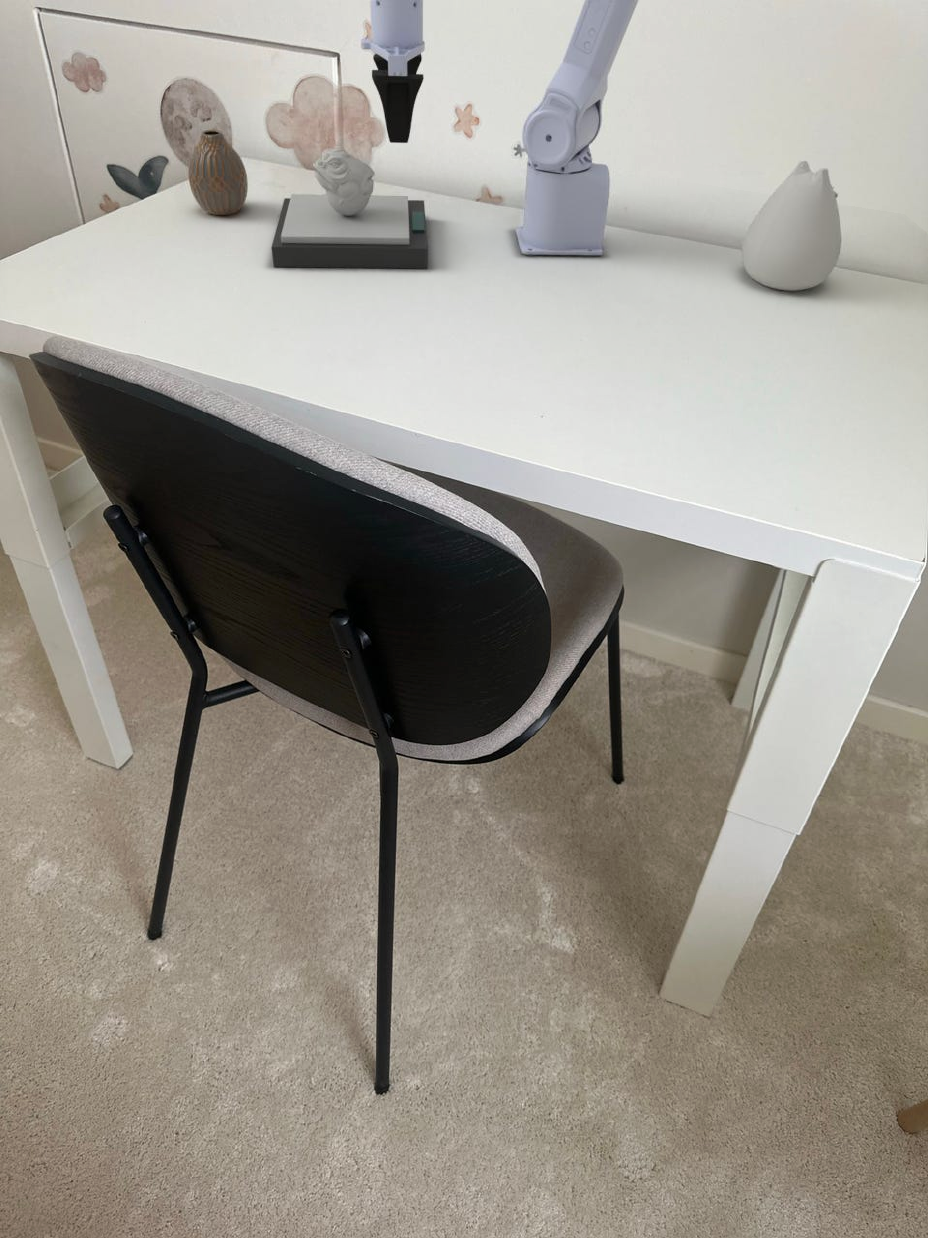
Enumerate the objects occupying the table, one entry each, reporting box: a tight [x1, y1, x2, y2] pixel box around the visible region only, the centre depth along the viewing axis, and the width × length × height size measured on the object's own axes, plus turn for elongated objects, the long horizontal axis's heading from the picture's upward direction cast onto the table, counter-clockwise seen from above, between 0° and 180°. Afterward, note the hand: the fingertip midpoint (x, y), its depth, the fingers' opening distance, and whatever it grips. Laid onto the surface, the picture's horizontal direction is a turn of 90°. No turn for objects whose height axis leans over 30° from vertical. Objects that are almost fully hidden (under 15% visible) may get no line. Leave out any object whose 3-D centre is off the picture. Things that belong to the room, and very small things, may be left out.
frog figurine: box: [312, 147, 376, 216], centre depth 100 cm, size 6×7×7 cm
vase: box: [188, 129, 249, 216], centre depth 108 cm, size 7×7×9 cm
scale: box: [271, 193, 429, 270], centre depth 103 cm, size 17×16×3 cm
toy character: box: [741, 160, 842, 292], centre depth 96 cm, size 10×10×12 cm
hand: (398, 132), depth 105 cm, fingers open, 7 cm apart
